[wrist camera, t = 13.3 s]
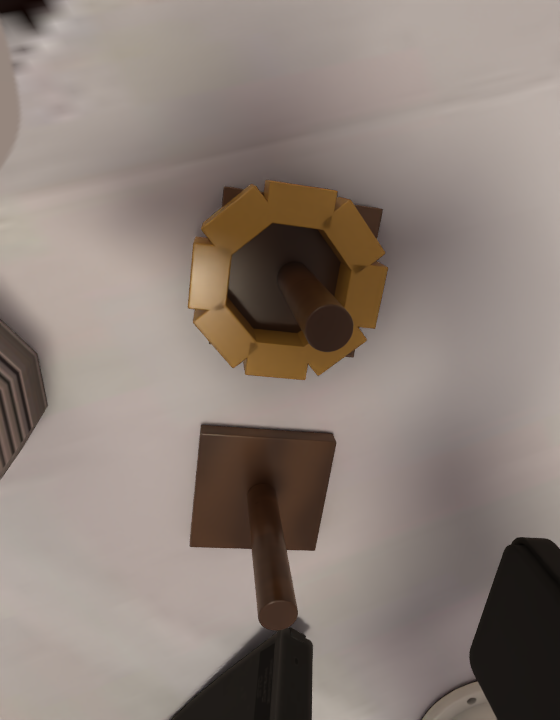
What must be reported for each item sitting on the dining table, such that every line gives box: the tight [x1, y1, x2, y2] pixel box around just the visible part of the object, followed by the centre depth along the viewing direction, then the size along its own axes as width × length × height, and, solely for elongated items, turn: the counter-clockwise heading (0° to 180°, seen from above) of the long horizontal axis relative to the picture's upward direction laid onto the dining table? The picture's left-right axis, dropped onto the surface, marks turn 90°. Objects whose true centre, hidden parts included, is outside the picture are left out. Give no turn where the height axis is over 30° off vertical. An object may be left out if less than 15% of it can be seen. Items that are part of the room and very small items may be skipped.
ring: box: [188, 180, 388, 380], centre depth 28 cm, size 10×10×3 cm
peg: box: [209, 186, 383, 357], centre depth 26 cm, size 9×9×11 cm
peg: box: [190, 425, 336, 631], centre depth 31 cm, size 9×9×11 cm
